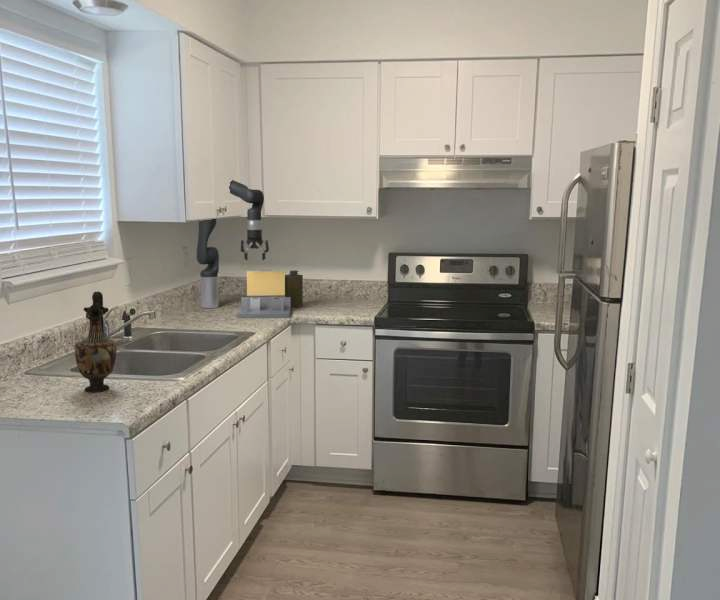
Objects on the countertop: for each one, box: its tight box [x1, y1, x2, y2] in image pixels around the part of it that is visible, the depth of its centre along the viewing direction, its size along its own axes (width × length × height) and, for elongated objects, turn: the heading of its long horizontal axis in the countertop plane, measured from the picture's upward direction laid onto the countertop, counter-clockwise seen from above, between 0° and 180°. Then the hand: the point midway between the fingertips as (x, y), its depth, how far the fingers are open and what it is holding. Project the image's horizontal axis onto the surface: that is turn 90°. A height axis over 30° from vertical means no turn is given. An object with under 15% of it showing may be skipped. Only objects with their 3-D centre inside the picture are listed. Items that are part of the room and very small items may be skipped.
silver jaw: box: [250, 298, 261, 311], centre depth 318 cm, size 5×5×6 cm
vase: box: [74, 291, 118, 393], centre depth 186 cm, size 12×12×30 cm
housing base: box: [236, 296, 292, 319], centre depth 316 cm, size 20×26×9 cm
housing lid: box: [246, 269, 286, 297], centre depth 324 cm, size 14×20×1 cm
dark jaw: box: [271, 298, 281, 311], centre depth 319 cm, size 5×5×6 cm
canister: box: [284, 270, 304, 308], centre depth 343 cm, size 11×10×20 cm
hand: (254, 260), depth 315 cm, fingers open, 8 cm apart
